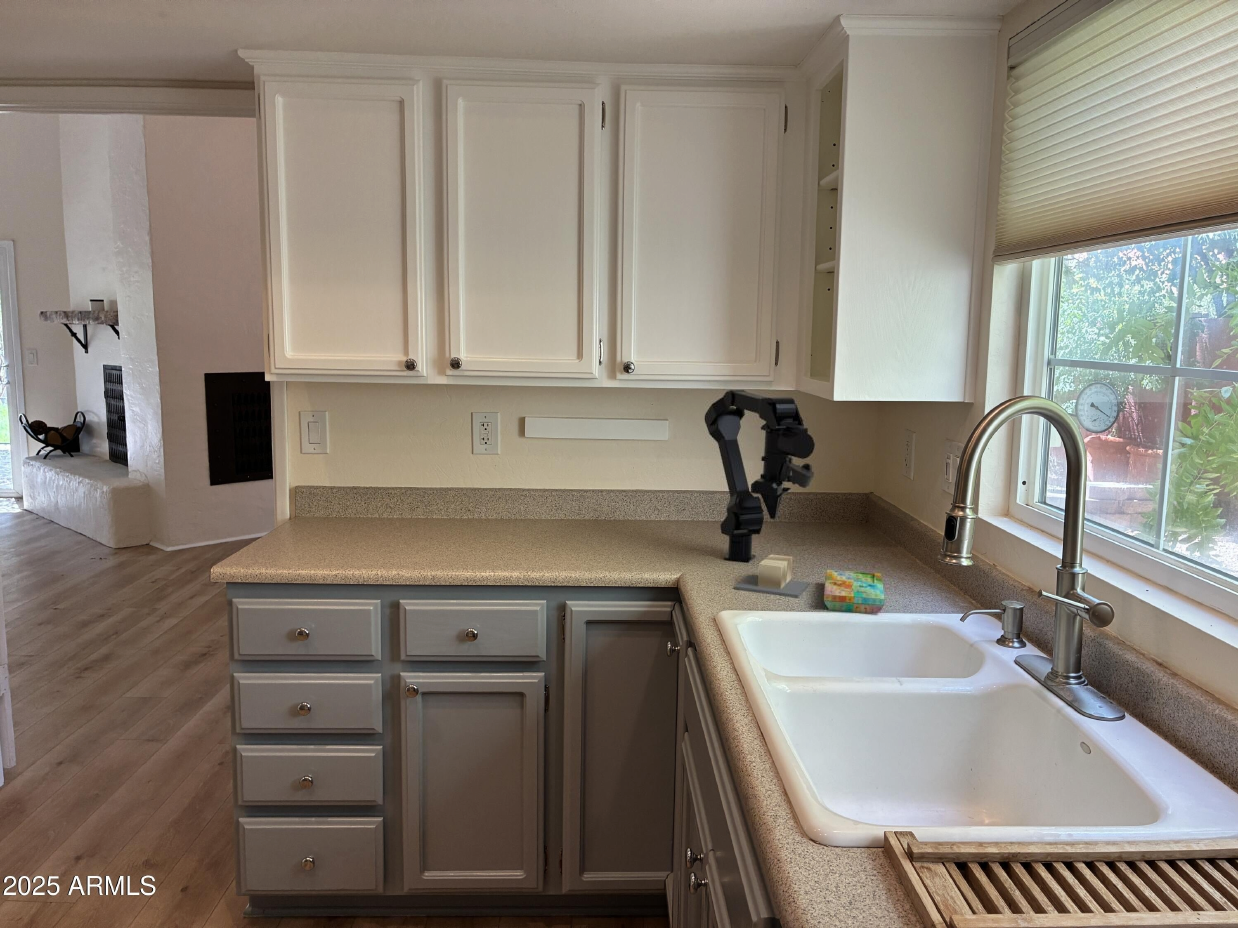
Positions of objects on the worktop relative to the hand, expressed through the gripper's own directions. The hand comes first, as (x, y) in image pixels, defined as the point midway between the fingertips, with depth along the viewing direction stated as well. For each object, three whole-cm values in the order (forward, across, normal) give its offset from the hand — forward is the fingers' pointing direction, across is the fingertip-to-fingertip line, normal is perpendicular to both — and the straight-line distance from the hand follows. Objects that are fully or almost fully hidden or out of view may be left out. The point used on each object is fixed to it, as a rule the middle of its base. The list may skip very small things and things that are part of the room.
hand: (773, 518), depth 214 cm
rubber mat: (+12, -13, -4) cm, 18 cm away
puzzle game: (+13, -14, -22) cm, 29 cm away
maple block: (+10, -6, -4) cm, 12 cm away
